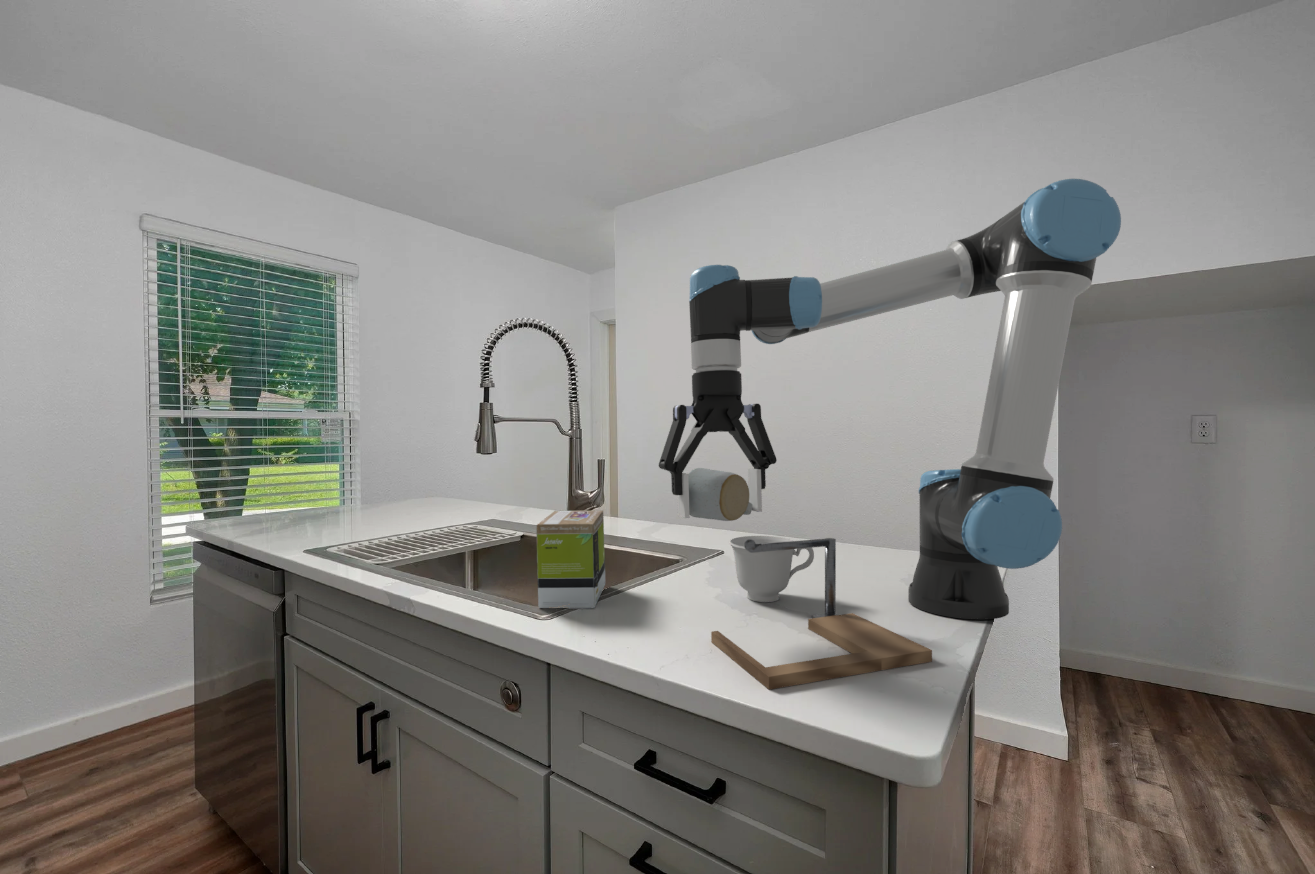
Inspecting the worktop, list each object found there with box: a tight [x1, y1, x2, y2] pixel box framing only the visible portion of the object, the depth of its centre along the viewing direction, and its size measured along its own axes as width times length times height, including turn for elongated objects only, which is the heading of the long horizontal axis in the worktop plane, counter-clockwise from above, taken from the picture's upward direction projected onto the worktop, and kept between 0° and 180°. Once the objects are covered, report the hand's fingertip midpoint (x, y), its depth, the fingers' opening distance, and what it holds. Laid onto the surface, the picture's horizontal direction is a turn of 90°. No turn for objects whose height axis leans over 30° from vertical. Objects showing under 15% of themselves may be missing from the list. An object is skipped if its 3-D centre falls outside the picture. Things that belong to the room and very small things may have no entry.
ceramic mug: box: [687, 467, 753, 522], centre depth 90 cm, size 11×8×8 cm
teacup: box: [728, 535, 815, 603], centre depth 104 cm, size 12×15×10 cm
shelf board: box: [710, 612, 933, 691], centre depth 79 cm, size 24×16×2 cm, turn 109°
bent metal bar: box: [744, 537, 837, 619], centre depth 89 cm, size 17×4×14 cm, turn 109°
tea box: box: [536, 510, 606, 610], centre depth 106 cm, size 15×10×15 cm, turn 178°
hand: (720, 513), depth 89 cm, fingers closed on ceramic mug, 11 cm apart
